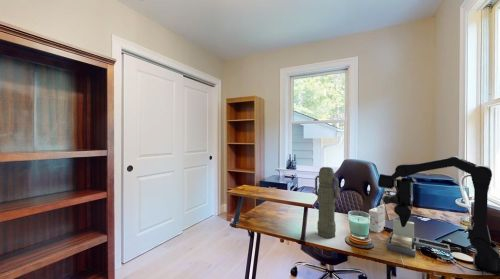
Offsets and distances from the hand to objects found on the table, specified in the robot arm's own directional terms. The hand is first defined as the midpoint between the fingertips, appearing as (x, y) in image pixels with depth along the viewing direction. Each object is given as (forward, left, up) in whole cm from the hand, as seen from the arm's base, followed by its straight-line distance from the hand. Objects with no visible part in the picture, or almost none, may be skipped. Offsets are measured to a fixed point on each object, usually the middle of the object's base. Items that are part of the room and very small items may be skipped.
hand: (403, 223), depth 104 cm
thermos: (+32, +12, -10) cm, 36 cm away
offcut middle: (+1, +9, -7) cm, 11 cm away
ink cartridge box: (+12, -9, -10) cm, 18 cm away
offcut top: (0, +9, -5) cm, 10 cm away
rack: (-5, +4, -10) cm, 12 cm away
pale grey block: (0, 0, -9) cm, 9 cm away
